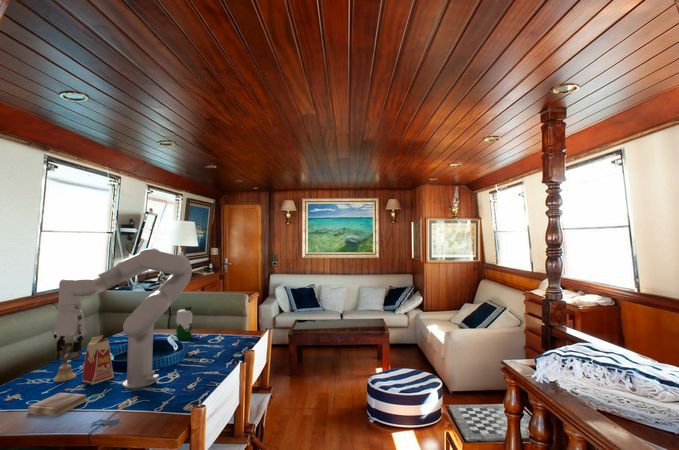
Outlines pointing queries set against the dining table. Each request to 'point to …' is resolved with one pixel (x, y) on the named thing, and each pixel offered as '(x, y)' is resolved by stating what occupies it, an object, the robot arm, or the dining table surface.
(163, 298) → the robot arm
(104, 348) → the milk carton
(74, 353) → the brown bird figurine
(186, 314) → the soya milk
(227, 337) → the dining table surface
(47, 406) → the tan wooden tray
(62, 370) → the hand bell
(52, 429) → the dining table surface
